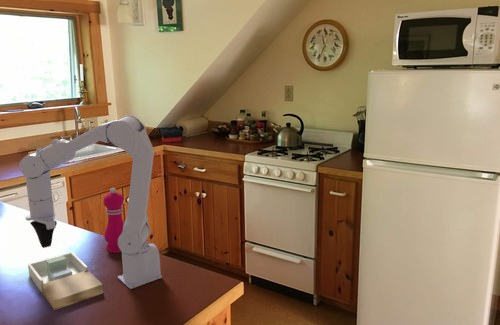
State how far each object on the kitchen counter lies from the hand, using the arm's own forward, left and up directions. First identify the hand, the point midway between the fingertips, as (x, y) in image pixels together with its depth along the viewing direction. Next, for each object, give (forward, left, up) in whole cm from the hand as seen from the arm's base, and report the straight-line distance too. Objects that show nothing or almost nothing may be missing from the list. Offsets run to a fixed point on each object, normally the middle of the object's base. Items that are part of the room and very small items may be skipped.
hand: (46, 246), depth 118 cm
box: (-2, +1, -9) cm, 10 cm away
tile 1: (-2, +1, -7) cm, 7 cm away
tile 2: (-2, +4, -9) cm, 10 cm away
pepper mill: (-22, -6, -10) cm, 25 cm away
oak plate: (-2, +12, -9) cm, 15 cm away
